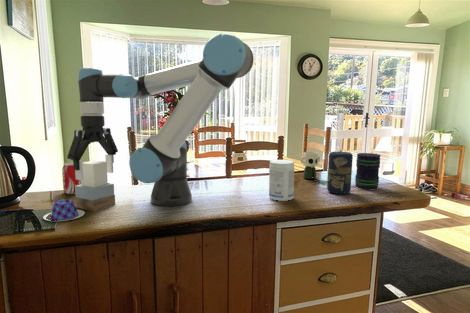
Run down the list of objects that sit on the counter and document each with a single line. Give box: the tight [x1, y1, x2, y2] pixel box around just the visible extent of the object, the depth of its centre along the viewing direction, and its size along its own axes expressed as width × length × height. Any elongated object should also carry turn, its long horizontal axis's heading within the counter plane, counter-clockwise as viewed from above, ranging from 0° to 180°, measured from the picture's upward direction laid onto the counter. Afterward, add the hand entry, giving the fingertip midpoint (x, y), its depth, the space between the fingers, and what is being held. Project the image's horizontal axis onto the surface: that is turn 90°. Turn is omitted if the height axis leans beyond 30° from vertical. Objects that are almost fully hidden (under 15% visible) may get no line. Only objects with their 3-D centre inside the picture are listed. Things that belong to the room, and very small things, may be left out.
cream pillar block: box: [81, 160, 109, 187], centre depth 122 cm, size 6×6×8 cm
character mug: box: [300, 151, 321, 180], centre depth 172 cm, size 11×7×13 cm, turn 111°
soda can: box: [61, 161, 82, 195], centre depth 140 cm, size 7×7×12 cm
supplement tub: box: [268, 159, 295, 202], centre depth 135 cm, size 10×10×15 cm
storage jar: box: [354, 152, 381, 190], centre depth 155 cm, size 10×10×15 cm
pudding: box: [42, 199, 86, 222], centre depth 111 cm, size 12×12×5 cm
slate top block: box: [75, 182, 115, 201], centre depth 122 cm, size 9×9×4 cm
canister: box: [326, 149, 354, 195], centre depth 145 cm, size 10×10×18 cm
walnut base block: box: [75, 194, 116, 212], centre depth 123 cm, size 9×9×4 cm
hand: (95, 175), depth 122 cm, fingers open, 13 cm apart
